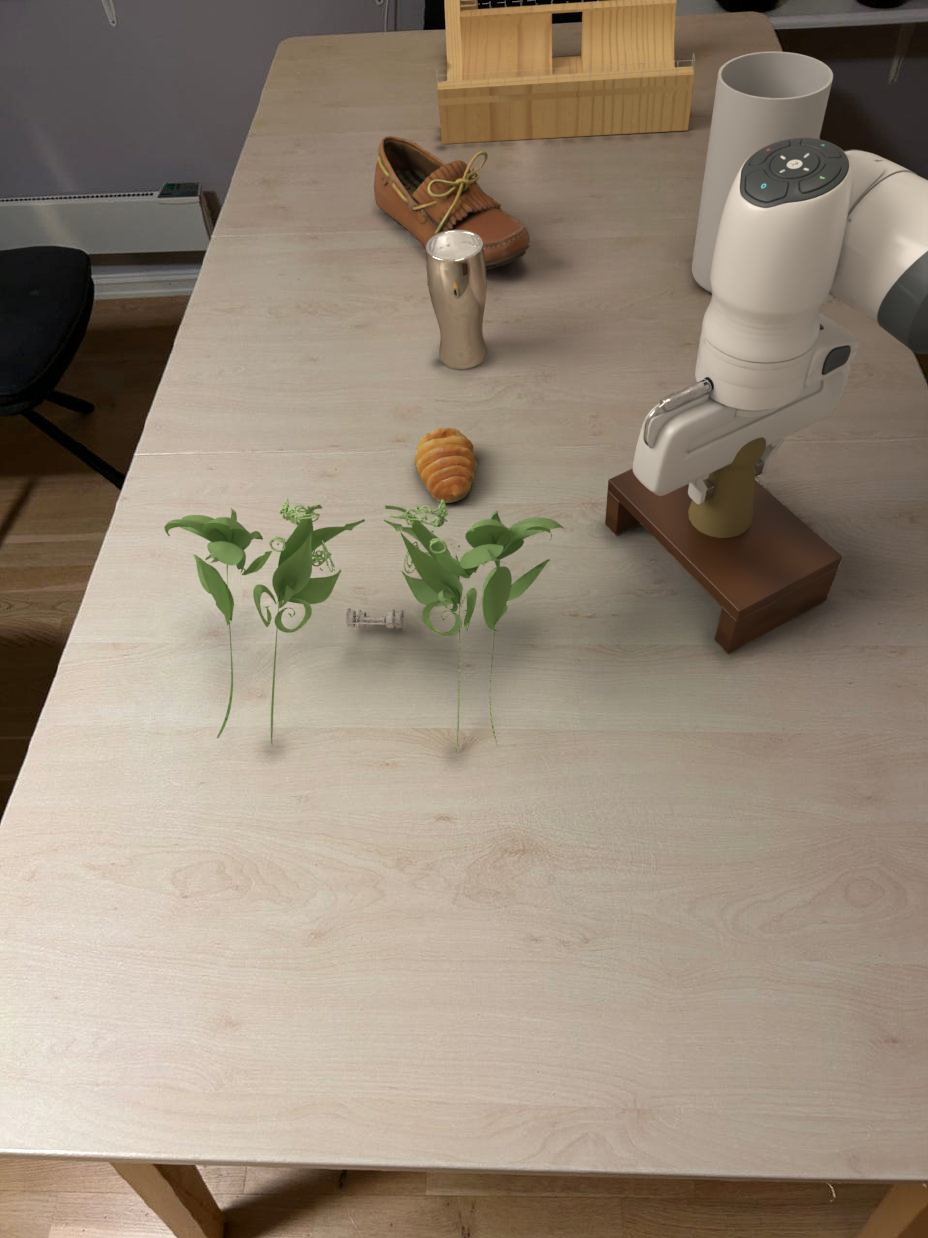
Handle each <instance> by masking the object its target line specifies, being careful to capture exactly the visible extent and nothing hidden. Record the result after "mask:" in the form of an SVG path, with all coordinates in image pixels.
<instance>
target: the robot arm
mask: <svg viewBox="0 0 928 1238" xmlns="http://www.w3.org/2000/svg"><path fill="white" fill-rule="evenodd" d="M710 282H711V288H712V293H711V299H710V303H709V304H708V306H707V308H706V310H705V312H704V315H703V319H702V324H701V330H700V337H699V343H698V349H697V357H696V362H695V368H694V377H695V380H696V382H695V383H692V384H690V385H688V386H686V387H684V388H683V389H681V390H680V391H677V392H673V393H670V394H667V395H666V396H664V397H662V398H661V399H660V401H659V403H658V404H656V405H655V406H653V408H652V409H651V410H650V411H649V412H648V413H647V415H646V416H645V418H644V420H643V423H642V425H641V429H640V431H639V434H638V435H639V436H638V439H637V442H636V443H637V444H636V447H635V451H634V456H633V462H632V468H633V473H634V475H635V476H636V478H637V479H638V480H639V481H640V482H641V483H642V484H643V485H644V486H645V487H646V488H647V489H649V490H650V491H651V492H653V493H654V494H656V495H658V496H664V495H666V494H668V493H670V492H673V491H675V490H677V489H679V488H681V487H683V486H685V485H687V484H689V488H688V495H689V497H690V498H691V499H692V500H693V501H694V502H695V503H696V504H701V503H703V502H705V501H707V500H709V499H711V498H712V497H713V494H712V493H713V492H714V488H715V486H714V485H713V484H712V483H711V482H709V481H707V478H708V477H709V474H710V473H712V472H714V471H716V470H718V469H720V468H723V467H725V466H727V465H729V464H731V463H732V462H733V460H734V459H735V456H736V454H737V453H738V452H739V450H740V449H741V448H742V447H743V446H744V445H746V444H747V443H749V442H750V441H752V440H755V439H757V438H761V437H763V438H764V439H766V447H765V450H764V453H763V455H762V456H761V458H760V459H759V460H758V461H757V462H756V472H755V478H756V477H758V476H760V475H762V474H765V473H767V469H768V466H769V462H770V460H771V459H772V458H773V456H774V455H775V454H776V452H777V451H778V450H779V449H780V447H781V446H782V445H783V444H784V441H785V438H788V437H789V436H792V435H793V434H795V433H798V432H801V431H802V430H804V429H806V428H809V427H810V426H812V425H815V424H817V423H819V422H821V421H824V420H825V419H827V418H828V417H829V416H830V415H832V413H833V412H834V411H835V410H836V408H838V406H839V405H840V402H841V400H842V398H843V395H844V392H845V389H846V386H847V383H848V380H849V375H850V372H851V362H852V361H853V360H854V359H855V357H856V355H857V353H858V351H859V346H860V340H858V338H856V337H855V336H854V335H852V334H851V332H849V331H848V330H846V328H844V327H843V326H841V325H840V324H838V323H837V322H836V321H834V320H833V319H831V318H830V317H828V316H826V315H825V314H823V313H822V312H820V311H821V308H822V306H823V304H824V303H827V302H828V301H830V300H832V299H833V300H834V299H837V300H839V301H841V302H842V303H844V304H845V305H847V306H849V307H850V308H852V309H854V310H856V312H859V313H861V315H863V316H866V317H867V318H869V319H871V321H874V322H875V323H877V324H878V326H879V327H880V328H881V329H883V330H884V331H885V332H887V333H888V334H889V335H890V336H892V337H893V338H894V339H896V340H897V341H899V343H901V344H902V345H904V346H905V347H906V348H908V349H909V350H910V351H912V353H915V354H918V355H926V354H927V355H928V179H926V178H924V177H922V176H920V175H918V174H917V173H916V172H915V171H912V170H910V169H908V168H906V167H904V166H902V165H900V164H898V163H895V162H893V161H891V160H890V159H887V158H885V157H882V156H880V155H878V154H875V153H874V152H873V153H872V152H869V151H864V150H862V149H858V148H851V149H850V148H849V149H845V150H844V149H842V148H841V147H839V146H838V145H836V144H834V143H833V142H830V141H827V140H825V139H820V138H819V139H815V138H793V139H787V140H782V141H779V142H775V143H773V144H770V145H768V146H765V147H763V148H762V149H760V150H758V151H756V152H755V153H754V154H752V155H751V156H750V157H749V158H748V159H747V160H746V161H745V162H744V163H743V165H742V166H741V168H740V170H739V172H738V174H737V176H736V177H735V180H734V182H733V184H732V187H731V189H730V192H729V194H728V197H727V200H726V203H725V206H724V209H723V213H722V216H721V220H720V224H719V228H718V233H717V237H716V242H715V247H714V253H713V259H712V265H711V272H710Z"/></svg>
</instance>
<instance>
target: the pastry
mask: <svg viewBox="0 0 928 1238" xmlns="http://www.w3.org/2000/svg"><path fill="white" fill-rule="evenodd" d="M414 464H415V466H416V470H417V473H418V475H419V478H420V479H421V481H422V483H423V485H424V486H425V487H426V489H427V491H428V493H429V494H430V496H431V497H432V498H433V499H435V500H436V502H438V503H439V504H441V500H442V499H443V500H444V503H445V504H447V503H455V502H458V501H460V500H463V499H464V498H466V496H467V495H468V493H470V491H471V488H472V484H473V481H474V480H475V471H476V470H477V469H476V468H477V465H478V463H477V461H476V458H475V453H474V444H473V442H472V441H471V439H469V438H468V437H467V436H466V435H465V434H463V433H462V432H461V431H460V430H459V429H457V428H455V427H440V428H436V429H434V430H433V431H431V432H428V433H426V434H425V435H424V436H423V437H422V438H421V439H420V440H419V442H418V443H417V446H416V453H415V456H414Z"/></svg>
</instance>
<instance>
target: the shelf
mask: <svg viewBox="0 0 928 1238" xmlns="http://www.w3.org/2000/svg"><path fill="white" fill-rule="evenodd" d="M688 488H689V484H687V485H685V486H683V487H681V488H679V489H677V490H675V491H673V492H670V493H668V494H666V495H664V496H658V495H656V494H654V493H653V492H651V491H650V490H649V489H647V488H646V487H645V486H644V485H643V484H642V483H641V482H640V481H639V480H638V479H637V478H636V476H635V475H634V473H633V467H632V468H630V469H628V470H625V471H624V472H621V473H619V474H618V475H615V476H613V477H611V478H608V480H607V492H606V493H607V494H606V509H605V521H604V525H605V526H606V527H607V528H608V529H609V531H610V532H612V533H613V535H614V536H619V535H620V534H623V533H624V532H627V531H628V530H631V529H633V528H635V527H637V526H639V525H641V526H642V527H643V528H644V529H645V530H646V531H647V532H648V533H649V534H650V536H652V537H653V538H654V539H655V540H656V541H657V542H658V543H659V544H660V545H661V546H662V547H663V548H664V549H665V550H666V551H667V553H668V554H670V555H671V556H672V557H673V558H674V559H675V560H676V561H677V562H678V563H679V564H680V565H681V566H682V568H683V569H685V571H686V572H687V573H688V574H689V575H690V576H691V577H692V578H694V580H695V581H696V582H697V583H698V584H699V585H700V586H701V587H702V588H703V589H704V590H705V591H706V592H707V593H708V594H709V595H710V596H711V597H712V598H713V599H714V600H715V601H716V602H717V603H718V604H719V605H720V606H721V607H722V608H721V610H720V611H721V612H720V615H719V621H718V624H717V628H716V632H715V636H714V641H715V642H716V643H717V644H718V646H719V647H721V648H722V650H723V651H724V652H725V653H726V654H727V655H730V654H731V653H733V652H735V651H737V650H738V649H741V648H742V647H744V646H746V645H748V644H749V643H751V642H753V641H755V640H757V639H759V638H761V637H762V636H764V635H766V634H767V633H768V634H769V632H772V631H773V630H775V629H777V628H779V627H781V626H783V625H785V624H786V623H788V622H791V621H792V620H793V619H795V618H798V617H799V616H801V615H803V614H805V613H807V612H808V611H810V610H812V609H814V608H815V607H817V606H819V605H822V604H823V603H824V602H826V601H827V600H828V597H829V595H830V592H831V590H832V587H833V584H834V581H835V579H836V577H837V573H838V571H839V568H840V565H841V562H842V560H843V557H844V556H843V554H841V553H840V552H839V551H838V550H837V549H836V548H834V547H833V546H832V545H831V544H830V543H829V542H828V541H827V540H825V539H824V538H823V537H822V536H821V535H820V534H818V532H816V531H815V530H814V529H813V528H811V527H810V526H809V525H808V524H807V523H806V522H805V521H803V520H802V519H801V517H799V516H798V515H796V514H795V513H794V512H793V511H792V510H791V509H790V508H789V507H788V506H787V505H785V504H784V503H783V502H781V501H780V500H779V498H777V497H776V496H774V495H773V494H772V493H771V492H770V491H769V490H768V489H767V488H765V486H763V485H762V484H761V483H760V482H759V481H757V480H756V479H755V489H754V506H753V519H752V523H751V526H750V527H749V528H748V529H747V530H746V531H745V532H744V533H742V534H740V535H738V536H734V537H730V538H717V537H712V536H708V535H706V534H704V533H702V532H700V531H699V530H697V529H696V528H695V527H694V526H693V525H692V523H691V521H690V520H689V515H688V510H689V507H690V505H691V502H692V499H691V498H690V497H689V495H688Z"/></svg>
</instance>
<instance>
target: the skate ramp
mask: <svg viewBox="0 0 928 1238" xmlns="http://www.w3.org/2000/svg"><path fill="white" fill-rule="evenodd" d="M531 1H535V0H528V2H531ZM553 1H554V0H551V1H550V4H535V5H522V0H517V1H513V3H519V5H520V6H504V7H489V8H479V2H478V0H444V20H445V22H444V23H445V24H444V25H445V43H446V45H445V46H446V47H445V48H446V74H438V71H436V72H435V76H436V77H435V80H436V82H435V83H436V94H437V105H438V112H439V113H438V115H439V125H440V138H441V144H442V145H447V144H448V145H449V144H465V143H466V144H467V143H483V142H485V143H486V142H500V141H501V142H502V141H503V142H504V141H521V140H522V141H523V140H537V139H556V138H557V139H558V138H576V137H592V136H611V135H612V136H613V135H628V134H629V135H630V134H647V133H663V132H664V133H665V132H667V133H668V132H681V131H684V132H685V131H687V132H688V131H689V127H690V118H691V117H690V116H691V109H692V101H693V94H694V93H693V92H694V84H695V78H696V77H695V75H696V74H695V70H694V69H695V67H696V63H695V62H694V60H696V59H695V54H694V52H693V53H692V56H693V57H692V59H688V60H687V59H685V60H683V62H689V61H690V62H692V65H691V66H679V64H680V61H676V60H675V31H676V30H675V29H676V28H675V27H676V16H677V15H676V13H677V12H676V11H677V5H678V4H677V3H678V1H677V0H597V1H580V2H566V3H554V2H553ZM503 3H504V4H505V1H503V2H502V1H501V2H500V1H499V2H498V4H503ZM488 4H489V5H490V2H486V3H483V5H488ZM579 12H580V13H581V38H580V39H581V40H580V41H581V43H580V45H581V46H580V55H579V56H578V55H574V56H559V57H553V14H564V13H565V14H566V13H579ZM676 62H677V63H676ZM675 63H676V64H677V65H676V64H675ZM442 76H443V77H444V76H446V81H445V80H443V81H438V79H439V77H442Z"/></svg>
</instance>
